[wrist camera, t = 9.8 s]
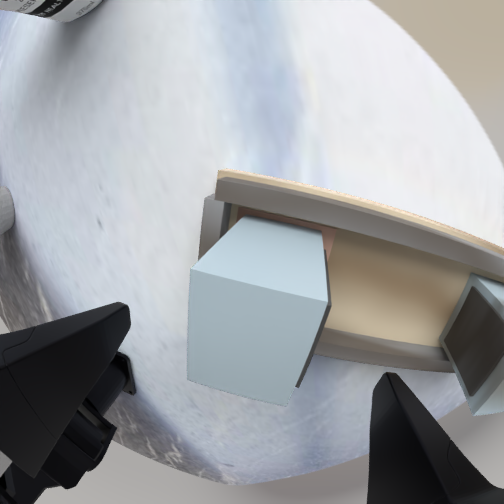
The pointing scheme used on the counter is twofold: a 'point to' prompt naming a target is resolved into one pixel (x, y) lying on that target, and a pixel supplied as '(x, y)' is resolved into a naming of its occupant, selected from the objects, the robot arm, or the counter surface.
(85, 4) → the supplement can
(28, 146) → the counter surface
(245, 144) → the counter surface
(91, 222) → the counter surface
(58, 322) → the robot arm
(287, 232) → the block
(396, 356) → the rail plate
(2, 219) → the house plant
